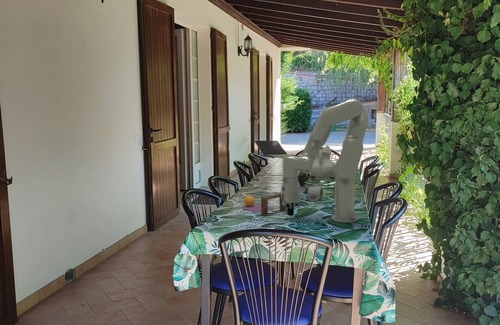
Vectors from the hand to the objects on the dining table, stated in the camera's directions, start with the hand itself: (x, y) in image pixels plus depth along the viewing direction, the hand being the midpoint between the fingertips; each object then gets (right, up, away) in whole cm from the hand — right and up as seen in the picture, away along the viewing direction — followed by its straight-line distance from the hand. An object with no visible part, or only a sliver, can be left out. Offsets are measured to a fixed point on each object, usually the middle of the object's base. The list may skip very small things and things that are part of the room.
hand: (290, 215), depth 228 cm
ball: (-21, +5, +25) cm, 33 cm away
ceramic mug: (+18, +4, +38) cm, 43 cm away
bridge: (-8, 0, +10) cm, 13 cm away
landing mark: (-17, +1, +21) cm, 27 cm away
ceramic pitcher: (+32, +14, +100) cm, 106 cm away
